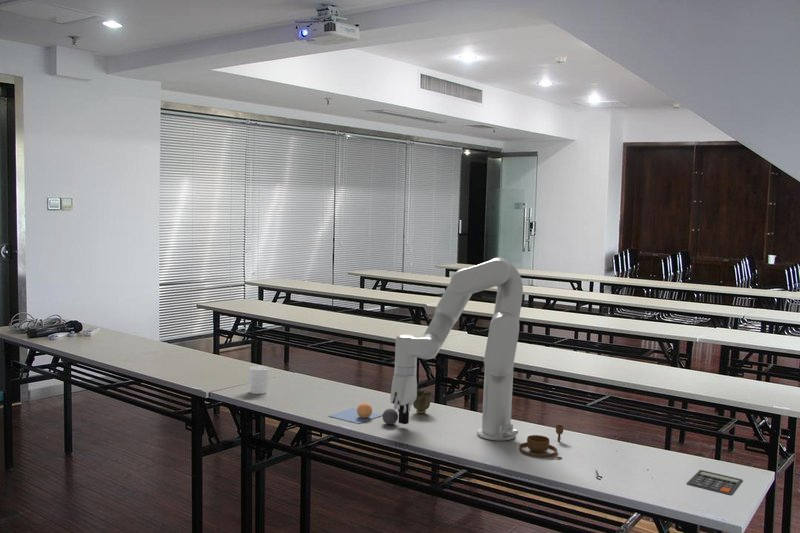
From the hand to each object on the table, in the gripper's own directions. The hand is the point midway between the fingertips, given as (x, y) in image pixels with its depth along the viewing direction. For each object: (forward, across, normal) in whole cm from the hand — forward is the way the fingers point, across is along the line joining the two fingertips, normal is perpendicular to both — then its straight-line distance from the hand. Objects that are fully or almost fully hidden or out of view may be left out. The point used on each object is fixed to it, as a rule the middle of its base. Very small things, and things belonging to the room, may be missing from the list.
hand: (403, 423), depth 239 cm
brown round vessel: (+2, -19, -5) cm, 20 cm away
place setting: (+2, -11, +48) cm, 50 cm away
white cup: (+2, -1, -72) cm, 72 cm away
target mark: (+2, 0, -21) cm, 21 cm away
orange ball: (-1, 0, -17) cm, 17 cm away
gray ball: (-1, 0, -6) cm, 6 cm away
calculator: (+2, -16, +97) cm, 98 cm away
